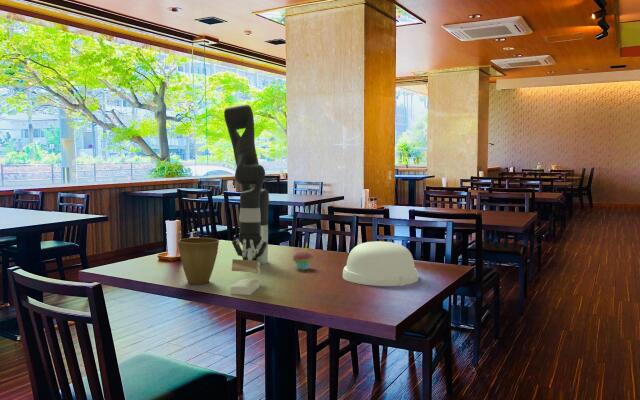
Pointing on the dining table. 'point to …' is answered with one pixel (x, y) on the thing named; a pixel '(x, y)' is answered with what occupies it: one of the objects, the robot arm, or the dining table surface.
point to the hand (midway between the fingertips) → (250, 267)
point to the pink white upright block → (245, 286)
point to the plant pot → (198, 258)
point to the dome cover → (380, 265)
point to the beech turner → (246, 266)
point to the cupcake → (303, 259)
